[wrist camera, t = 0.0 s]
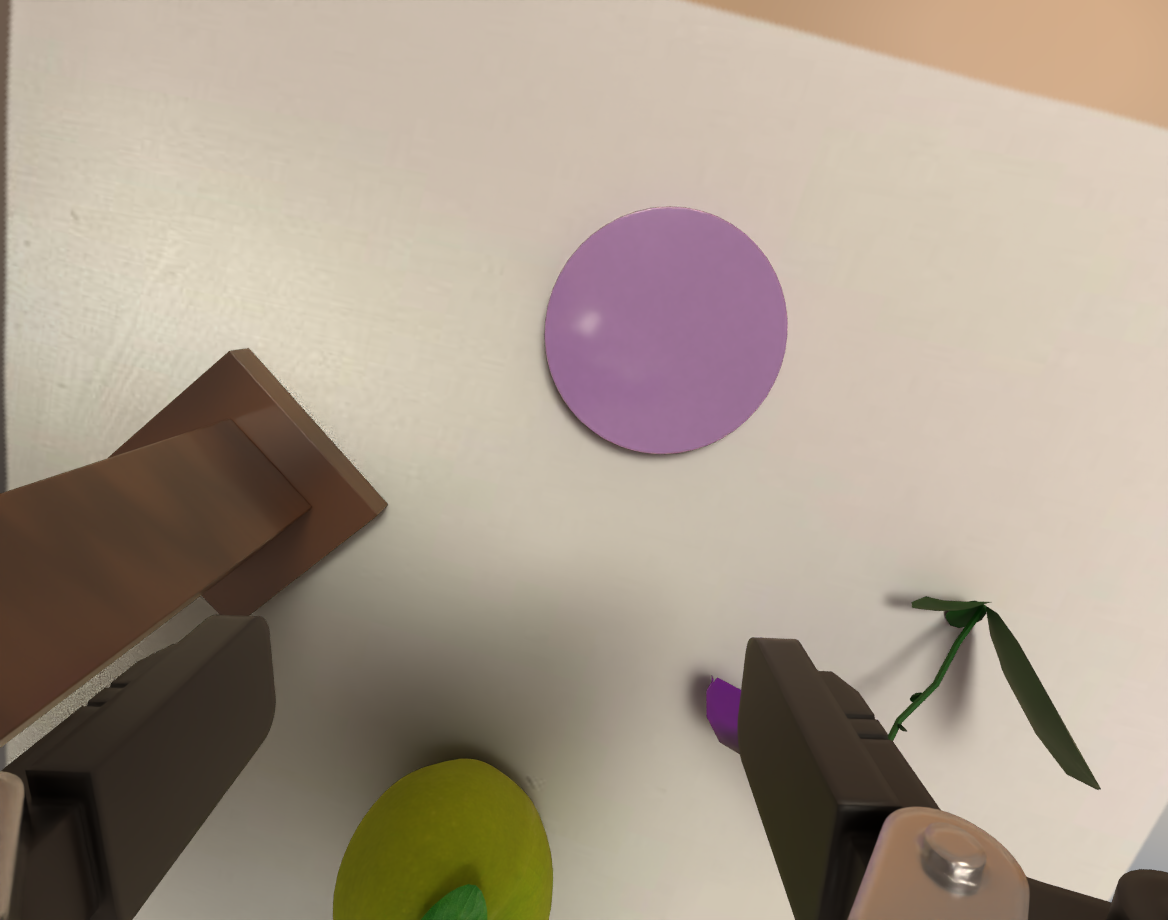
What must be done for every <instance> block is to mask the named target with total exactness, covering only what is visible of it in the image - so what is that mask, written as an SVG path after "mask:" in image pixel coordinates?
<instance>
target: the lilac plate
mask: <svg viewBox="0 0 1168 920" xmlns="http://www.w3.org/2000/svg"><path fill="white" fill-rule="evenodd" d="M787 321H788V320H787V311H786V303H785V299H784V295H783V291H782V288H781V285H780V283H779V280H778V278H777V275H776V273H775V271H774V269H773V267H772V266H771V264H770V262H769V260H768V259H767V257H766V256H765V255H764V253H763V252H762V251H761V250H760V248H759V247H758V246H757V245H756V244H755V243H754V242H753V241H752V240H751V239H750V238H749V237H748V236H747V235H746V234H745V233H744V232H742V231H741V230H739V229H738V228H737V227H735V226H734V225H733V224H731V223H729V222H727V221H725V220H723V219H721V218H720V217H718V216H715V215H712V214H709V213H707V212H704V211H700V210H696V209H691V208H686V207H671V206H669V207H655V208H649V209H644V210H640V211H636V212H633V213H630V214H627V215H625V216H622V217H620V218H618V219H616V220H614V221H612V222H610V223H608V224H606V225H605V226H603V227H602V228H601V229H599V230H598V231H596V232H595V233H593V234H592V235H591V236H590V237H589V238H588V239H587V240H586V241H585V242H583V243H582V244H581V245H580V246H579V247H578V249H577V250H576V251H575V252H574V253H573V255H572V256H571V257H570V258H569V260H568V261H567V263H566V264H565V266H564V268H563V269H562V271H561V272H560V274H559V277H558V279H557V281H556V283H555V285H554V287H553V290H552V293H551V296H550V300H549V303H548V308H547V313H546V319H545V336H544V337H545V349H546V356H547V360H548V365H549V369H550V372H551V375H552V378H553V380H554V383H555V385H556V387H557V389H558V391H559V393H560V395H561V397H562V398H563V400H564V401H565V403H566V404H567V406H568V407H569V409H570V410H571V411H572V412H573V413H574V414H575V415H576V417H577V418H578V419H579V420H580V421H581V422H582V423H583V424H585V425H586V426H587V427H588V428H589V429H590V430H592V431H593V432H594V433H596V434H598V435H599V436H601V437H602V438H604V439H605V440H608V441H610V442H612V443H614V444H616V445H618V446H621V447H624V448H627V449H630V450H633V451H638V452H644V453H652V454H672V453H681V452H686V451H691V450H695V449H698V448H701V447H704V446H707V445H709V444H711V443H713V442H715V441H718V440H720V439H722V438H723V437H725V436H726V435H728V434H730V433H731V432H733V431H734V430H736V429H737V428H738V427H739V426H740V425H742V424H743V423H744V422H745V421H746V420H747V419H748V418H749V417H750V416H751V415H752V414H753V413H754V412H755V411H756V410H757V409H758V408H759V406H760V405H761V403H762V402H763V401H764V399H765V398H766V397H767V395H768V393H769V392H770V390H771V388H772V386H773V384H774V383H775V380H776V378H777V376H778V373H779V371H780V368H781V365H782V361H783V358H784V354H785V349H786V342H787Z"/></svg>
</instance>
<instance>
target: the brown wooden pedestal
mask: <svg viewBox="0 0 1168 920" xmlns="http://www.w3.org/2000/svg"><path fill="white" fill-rule="evenodd" d="M387 505H388V504H387V503H386V502H385V501H384V499H383V498H382V497H381V496H380V495H379V494H378V493H377V492H376V490H375V489H374V488H373V487H372V486H371V485H370V484H369V483H368V481H367V480H366V479H365V478H364V477H363V476H362V475H361V474H360V472H359V471H358V470H357V469H356V468H355V467H354V466H353V465H352V463H351V462H350V461H349V460H348V459H347V458H346V457H345V456H344V455H343V453H342V452H341V451H340V450H339V449H338V448H337V447H336V446H335V444H334V443H333V442H332V441H331V440H330V439H329V438H328V437H327V435H326V434H325V433H324V432H323V431H322V430H321V429H320V428H319V426H318V425H317V424H316V423H315V422H314V421H313V420H312V419H311V417H310V416H309V415H308V414H307V413H306V412H305V411H304V410H303V409H302V407H301V406H300V405H299V404H298V403H297V402H296V401H295V400H294V398H293V397H292V396H291V395H290V394H289V393H288V392H287V391H286V389H285V388H284V387H283V386H282V385H281V384H280V383H279V382H278V380H277V379H276V378H275V377H274V376H273V375H272V374H271V373H270V371H269V370H268V369H267V368H266V367H265V366H264V365H263V364H262V363H261V361H260V360H259V359H258V358H257V357H256V356H255V355H254V354H253V352H252V351H251V350H250V349H249V348H247V349H239V350H232V351H229V352H228V353H227V354H225V355H224V356H223V357H222V358H221V359H220V360H219V361H217V362H216V363H215V364H214V365H213V366H212V367H211V368H209V369H208V370H207V371H206V372H205V373H204V374H203V375H201V376H200V377H199V378H198V379H197V380H196V381H195V382H194V383H192V384H191V385H190V386H189V387H188V388H187V389H186V390H184V391H183V392H182V393H181V394H180V395H179V396H178V397H176V398H175V399H174V400H173V401H172V402H171V403H170V404H169V405H167V406H166V407H165V408H164V409H163V410H162V411H161V412H159V413H158V414H157V415H156V416H155V417H154V418H153V419H151V420H150V421H149V422H148V423H147V424H146V425H145V426H144V427H142V428H141V429H140V430H139V431H138V432H137V433H136V434H134V435H133V436H132V437H131V438H130V439H129V440H128V441H126V442H125V443H124V444H123V445H122V446H121V447H120V448H118V449H117V450H116V451H115V452H114V453H113V454H112V455H111V456H109V457H108V458H107V459H105V460H102V461H98V462H95V463H92V464H89V465H86V466H83V467H80V468H77V469H74V470H71V471H68V472H65V473H62V474H59V475H56V476H52V477H49V478H46V479H43V480H40V481H37V482H34V483H31V484H28V485H25V486H22V487H19V488H16V489H13V490H9V491H6V492H3V493H0V748H1V747H2V746H4V745H5V744H6V743H8V742H9V741H10V740H12V739H13V738H14V737H15V736H17V735H18V734H19V733H21V732H22V731H23V730H25V729H26V728H27V727H29V726H30V725H31V724H33V723H34V722H35V721H37V720H38V719H39V718H40V717H42V716H43V715H44V714H46V713H47V712H48V711H50V710H51V709H52V708H54V707H55V706H56V705H58V704H59V703H60V702H62V701H63V700H64V699H65V698H67V697H68V696H69V695H71V694H72V693H73V692H75V691H76V690H77V689H79V688H80V687H81V686H83V685H84V684H85V683H87V682H88V681H89V680H90V679H92V678H93V677H94V676H96V675H97V674H98V673H100V672H101V671H102V670H104V669H105V668H106V667H108V666H109V665H110V664H112V663H113V662H114V661H115V660H117V659H118V658H119V657H121V656H122V655H123V654H125V653H126V652H127V651H129V650H130V649H131V648H133V647H134V646H135V645H137V644H138V643H139V642H140V641H142V640H143V639H144V638H146V637H147V636H148V635H150V634H151V633H152V632H154V631H155V630H156V629H158V628H159V627H160V626H162V625H163V624H164V623H166V622H167V621H168V620H169V619H171V618H172V617H173V616H175V615H176V614H177V613H179V612H180V611H181V610H183V609H184V608H185V607H187V606H188V605H189V604H191V603H192V602H193V601H194V600H196V599H197V598H198V597H200V596H202V597H203V598H204V599H205V600H206V601H207V602H208V603H209V604H210V605H211V606H212V607H213V608H214V609H215V610H216V611H217V612H218V613H219V614H220V615H237V616H249V615H250V614H252V613H253V612H254V611H256V610H257V609H258V608H259V607H261V606H262V605H263V604H264V603H266V602H267V601H268V600H270V599H271V598H272V597H273V596H275V595H276V594H277V593H279V592H280V591H281V590H282V589H284V588H285V587H286V586H288V585H289V584H290V583H291V582H293V581H294V580H295V579H297V578H298V577H299V576H300V575H302V574H303V573H304V572H306V571H307V570H308V569H309V568H311V567H312V566H313V565H314V564H316V563H317V562H318V561H320V560H321V559H322V558H323V557H325V556H326V555H327V554H329V553H330V552H331V551H332V550H334V549H335V548H336V547H338V546H339V545H340V544H341V543H343V542H344V541H345V540H347V539H348V538H349V537H350V536H352V535H353V534H354V533H355V532H357V531H358V530H359V529H361V528H362V527H363V526H364V525H366V524H367V523H368V522H370V521H371V520H372V519H373V518H375V517H376V516H377V515H378V514H379V513H380V512H381V511H382V510H383V509H384V508H385V507H386V506H387Z"/></svg>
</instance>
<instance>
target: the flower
mask: <svg viewBox="0 0 1168 920" xmlns="http://www.w3.org/2000/svg"><path fill="white" fill-rule="evenodd" d="M911 603H912V608H918V609H925V610H934V611H949V612H947V613H946V619H947V621H948V622H949V624H950V625H951V626H955V627H958V628H961V627H965V628H964V629H963V631H962V632H961V633H960V635H959V636H958V637H957V639H956V640H955V642H954V643H953V645H952V647H951V649H950V651H949V653H948V655H947V657H946V659H945V661H944V662H943V664H942V666H941V668H940V670H939V672H938V674H937V676H936V678H935V680H934V681H933V683H932V684H931V685H930V686H929V687H928V688H927V689H926V690H925V691H924V692H923V693H915V694H914V695H912V696H911V698H910V701H911V702H913V703H912V704H911V705H910V706H909V707H908V708H907V709H906V710H905V711H904V712H903V713H902V714H901V715H900V716H899V717H898V718H897V719H896V721H895V723H894V725H893V727H892V729H891V731H890V733H889V735H888V738H889V740H892V741H893V740H894V738H895V736H896V734H897V732H898V730H899V728H900V730H902V731H906V732H907V730H906V729H905V728H904V727H903V726H902V725H901V724H902V722H903V721H904V720H905V719H906V718H907V717H908V716H909V715H910V714H911V713H912V712H913V711H914V710H915V709H916V708H917V707H918V706H919V705H920V704H921V703H922V702H923V701H925V699H926V698H927V697H928V696H929V695H930V694H931V693H932V692H933V691H934V690H935V689H936V688H937V687H938V686H939V685H940V683H941V681H942V679H943V677H944V675H945V673H946V671H947V669H948V667H949V665H950V663H951V662H952V660H953V658H954V656H955V654H956V652H957V650H958V648H959V646H960V644H961V643H962V642H963V640H964V639H965V637H966V636H967V635H968V633H969V632H970V631H971V629H972V628H973V626H974V625H975V624H976V622H978V621H981V620H982V618H983V617H984V616H985V615H986V611H987V618H988V624H989V630H990V636H991V639H992V641H993V644H994V647H995V649H996V652H997V655H998V658H999V661H1000V664H1001V668H1002V671H1003V673H1004V675H1005V677H1006V679H1007V681H1008V683H1009V685H1010V687H1011V689H1012V690H1013V692H1014V694H1015V696H1016V698H1017V700H1018V702H1019V703H1020V705H1021V707H1022V709H1023V711H1024V713H1025V715H1026V716H1027V718H1028V720H1029V722H1030V724H1031V726H1032V728H1033V730H1034V731H1035V733H1036V735H1037V736H1038V737H1039V739H1040V740H1041V741H1042V743H1043V744H1044V745H1045V747H1046V748H1047V749H1048V750H1049V752H1050V753H1051V754H1052V756H1053V757H1054V758H1055V760H1056V761H1057V762H1058V764H1059V765H1060V766H1061V768H1062V769H1063V770H1064V771H1065V773H1066V774H1067V775H1069V776H1071V777H1073V778H1075V779H1077V780H1079V781H1081V782H1083V783H1085V784H1087V785H1089V786H1091V787H1093V788H1095V789H1097V790H1099V789H1101V788H1100V787H1099V785H1098V783H1097V781H1096V780H1095V778H1094V776H1093V774H1092V772H1091V771H1090V769H1089V767H1088V765H1087V763H1086V762H1085V760H1084V758H1083V756H1082V755H1081V753H1080V751H1079V749H1078V747H1077V746H1076V744H1075V742H1074V740H1073V739H1072V737H1071V735H1070V733H1069V731H1068V730H1067V728H1066V726H1065V724H1064V723H1063V721H1062V719H1061V717H1060V715H1059V714H1058V712H1057V710H1056V708H1055V707H1054V705H1053V703H1052V701H1051V699H1050V698H1049V696H1048V694H1047V692H1046V691H1045V689H1044V687H1043V685H1042V683H1041V682H1040V680H1039V678H1038V676H1037V675H1036V673H1035V671H1034V669H1033V667H1032V666H1031V664H1030V662H1029V660H1028V659H1027V657H1026V655H1025V653H1024V652H1023V650H1022V648H1021V646H1020V644H1019V643H1018V641H1017V640H1016V638H1015V637H1014V636H1013V634H1012V633H1011V631H1010V630H1009V629H1008V627H1007V626H1006V624H1005V623H1004V622H1003V620H1002V619H1001V617H1000V616H999V615H998V613H996V612H994V611H993V610H991V609H990V608H988V607H987V606H985V605H984V604H986V603H990V602H977V601H970V602H961V601H944V600H939V599H935V598H931V597H927V596H926V597H923V598H921V599H918V600H916V601H913V602H911ZM711 677H712V682H711V683H710V685H709V687H708V689H707V690H706V701H707V719H708V720H709V722H710V724H711V726H712V728H713V730H714V732H715V734H716V736H717V738H718V740H719V742H720V743H722V744H724V745H725V746H727V747H729V748H730V749H732V750H734V751H735V752H737V753H739V754H740V752H739V745H738V732H737V725H738V713H739V704H740V696H741V690H740V689H738V688H736V687H734V686H733V685H731V684H729V683H727V682H725V681H723V680H721V679H719V678H717V679H716V680H715V681H714V682H713V676H712V675H711Z"/></svg>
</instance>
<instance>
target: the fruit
mask: <svg viewBox="0 0 1168 920" xmlns="http://www.w3.org/2000/svg"><path fill="white" fill-rule="evenodd" d="M552 889H553V868H552V858H551V851H550V847H549V843H548V839H547V835H546V832H545V829H544V827H543V824H542V821H541V819H540V816H539V814H538V812H537V810H536V808H535V806H534V804H533V803H532V801H531V800H530V798H529V797H528V796H527V795H526V793H525V792H524V791H523V790H522V789H521V788H520V787H519V786H518V785H517V784H516V783H515V782H514V781H512V780H511V779H510V778H509V777H507V776H506V775H505V774H503V773H502V772H501V771H499V770H498V769H496V768H495V767H493V766H491V765H489V764H487V763H485V762H482V761H479V760H475V759H456V760H450V761H445V762H441V763H437V764H433V765H430V766H427V767H424V768H421V769H418V770H416V771H414V772H412V773H410V774H408V775H406V776H404V777H403V778H401V779H400V780H399V781H397V782H396V783H395V784H393V785H392V786H391V787H390V788H389V789H388V790H386V791H385V792H384V793H383V794H382V796H381V797H380V798H379V799H378V800H377V801H376V802H375V803H374V804H373V806H372V807H371V808H370V810H369V811H368V812H367V814H366V815H365V816H364V818H363V819H362V821H361V822H360V824H359V826H358V827H357V829H356V831H355V833H354V835H353V836H352V838H351V840H350V842H349V844H348V847H347V849H346V851H345V854H344V857H343V859H342V862H341V865H340V869H339V872H338V875H337V880H336V885H335V891H334V899H333V920H549V915H550V910H551V902H552Z"/></svg>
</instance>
